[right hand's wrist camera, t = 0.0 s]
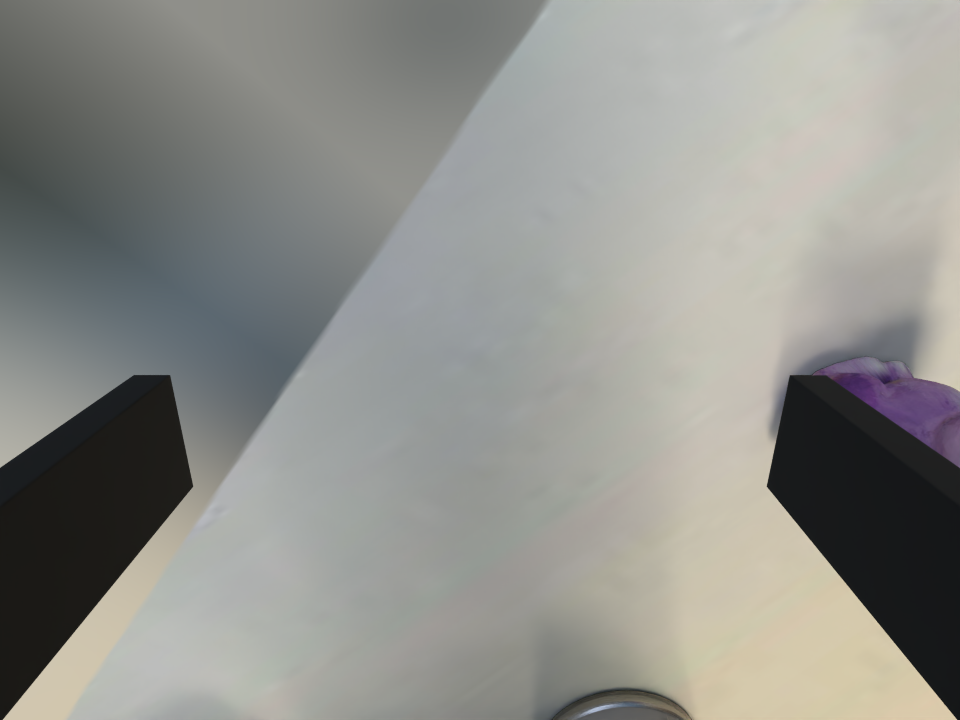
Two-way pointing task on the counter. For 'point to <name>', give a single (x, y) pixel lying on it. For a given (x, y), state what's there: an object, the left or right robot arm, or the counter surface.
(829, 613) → the counter surface
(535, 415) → the counter surface
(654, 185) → the counter surface
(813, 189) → the counter surface
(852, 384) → the figurine
